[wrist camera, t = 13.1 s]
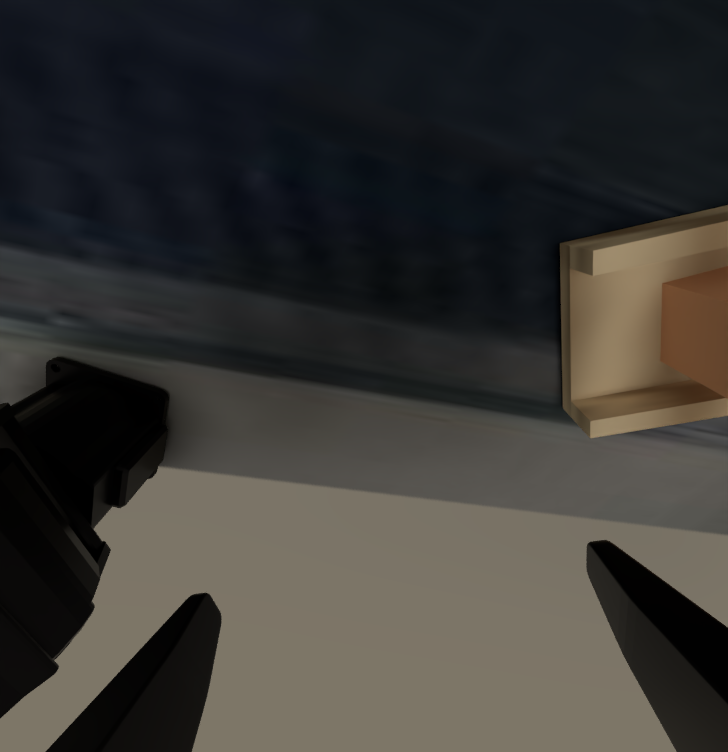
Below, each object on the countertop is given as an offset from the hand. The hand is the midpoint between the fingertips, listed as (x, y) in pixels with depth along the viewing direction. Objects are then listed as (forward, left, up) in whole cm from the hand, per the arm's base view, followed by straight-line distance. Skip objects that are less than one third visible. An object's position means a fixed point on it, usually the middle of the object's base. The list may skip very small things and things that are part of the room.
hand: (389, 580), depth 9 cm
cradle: (+12, +8, -13) cm, 19 cm away
